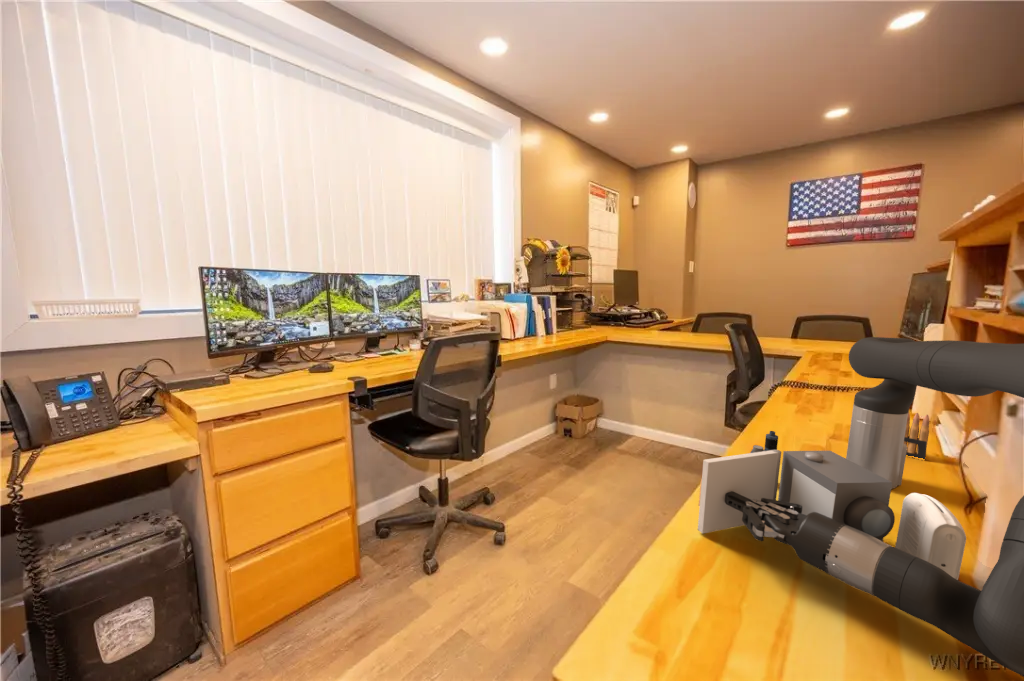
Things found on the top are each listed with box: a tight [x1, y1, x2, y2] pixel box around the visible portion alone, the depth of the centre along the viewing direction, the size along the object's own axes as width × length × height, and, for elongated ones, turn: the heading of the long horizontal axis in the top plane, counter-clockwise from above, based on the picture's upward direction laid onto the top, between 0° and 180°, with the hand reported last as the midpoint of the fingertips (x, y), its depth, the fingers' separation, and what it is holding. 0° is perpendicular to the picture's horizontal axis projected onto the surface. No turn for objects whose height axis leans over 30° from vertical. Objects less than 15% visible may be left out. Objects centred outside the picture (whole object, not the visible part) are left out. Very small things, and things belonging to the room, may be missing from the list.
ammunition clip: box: [904, 411, 930, 460], centre depth 108 cm, size 11×2×12 cm, turn 41°
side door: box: [697, 449, 782, 534], centre depth 75 cm, size 2×17×14 cm, turn 106°
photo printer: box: [895, 492, 967, 581], centre depth 62 cm, size 10×4×12 cm, turn 156°
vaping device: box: [750, 430, 779, 453], centre depth 92 cm, size 3×5×12 cm, turn 78°
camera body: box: [777, 450, 896, 542], centre depth 70 cm, size 9×14×15 cm, turn 2°
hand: (727, 496), depth 73 cm, fingers closed
